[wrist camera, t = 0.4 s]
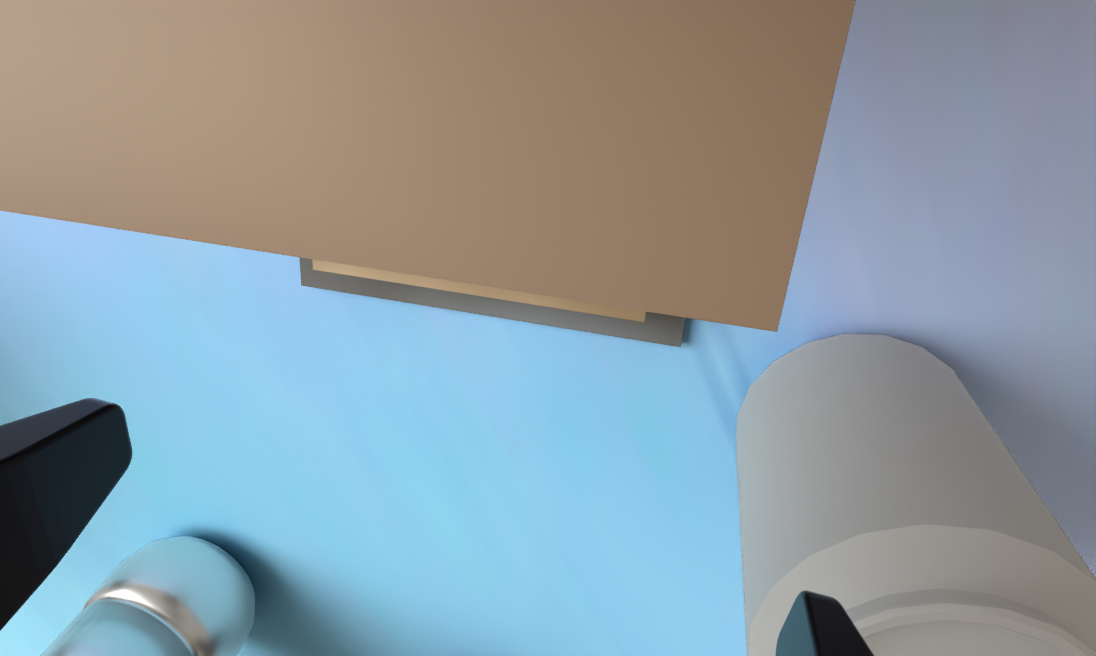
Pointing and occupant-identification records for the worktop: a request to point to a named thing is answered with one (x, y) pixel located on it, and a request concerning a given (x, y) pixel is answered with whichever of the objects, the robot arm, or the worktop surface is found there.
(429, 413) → the worktop surface
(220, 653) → the plastic bottle
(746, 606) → the can
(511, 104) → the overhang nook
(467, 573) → the worktop surface
